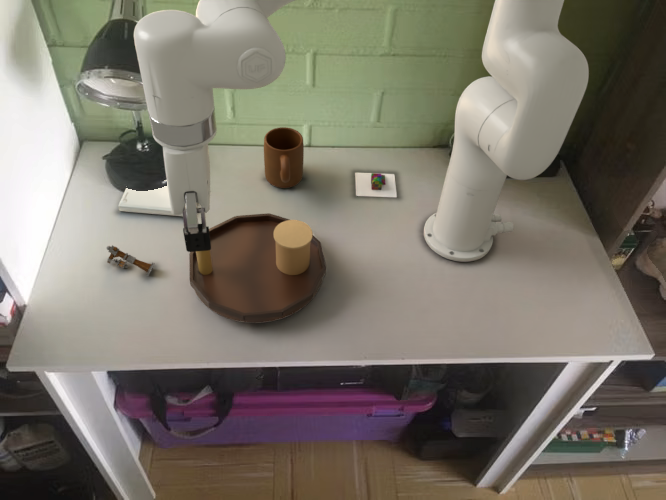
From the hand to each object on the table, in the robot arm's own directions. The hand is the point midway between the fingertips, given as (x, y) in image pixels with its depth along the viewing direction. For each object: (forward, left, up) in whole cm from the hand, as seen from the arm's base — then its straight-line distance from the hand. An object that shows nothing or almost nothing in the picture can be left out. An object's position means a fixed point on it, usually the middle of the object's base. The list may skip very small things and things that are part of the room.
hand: (198, 224), depth 83 cm
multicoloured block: (-33, -26, -19) cm, 46 cm away
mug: (-15, -28, -19) cm, 37 cm away
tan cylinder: (-14, -5, -16) cm, 22 cm away
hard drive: (+9, -26, -19) cm, 34 cm away
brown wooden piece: (+13, -9, -19) cm, 25 cm away
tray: (-8, -5, -17) cm, 19 cm away
